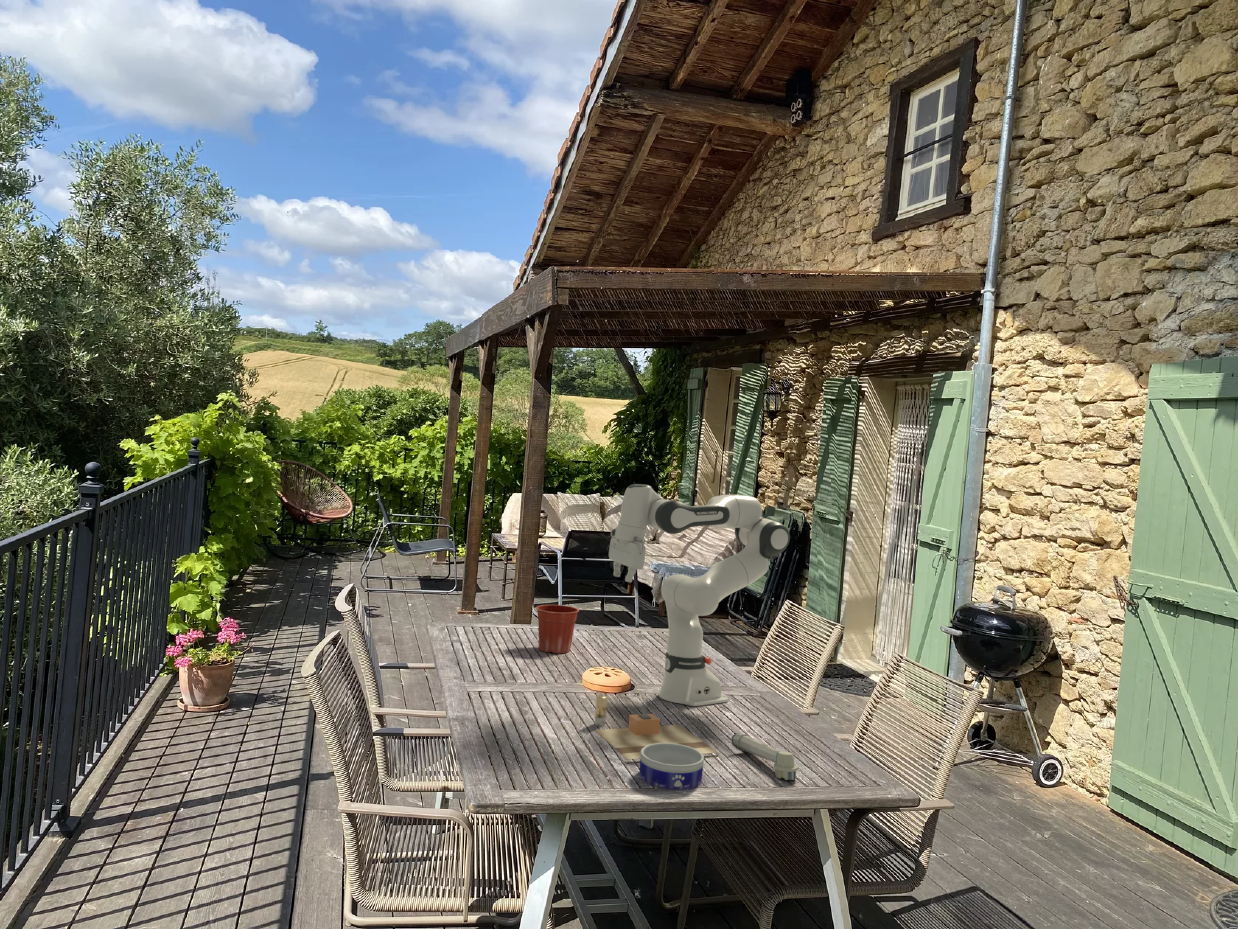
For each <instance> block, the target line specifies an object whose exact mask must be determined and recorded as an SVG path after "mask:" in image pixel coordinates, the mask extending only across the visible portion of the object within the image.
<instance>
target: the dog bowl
mask: <svg viewBox="0 0 1238 929" xmlns="http://www.w3.org/2000/svg"><path fill="white" fill-rule="evenodd" d="M704 756H705V755H704V754H702V753H701V752H699V751H698V750H696V749H694V748H692V747H689V746H685V745H681V744H674V743H655V744H650V745H647V746H645V747H643V748H642V750H641V754H640V759H639V761H640V763H639V777H640V779H641V780H642V781H643V782H644V783H646V784H648V785H650V786H652V787H655V788H659V789H661V790H662V789H663V790H670V791H687V789H688V790H692V789H695V788H698V787H699V786H700V785H701V783H702V780H703V772H704V762H705V761H704V760H705V758H704ZM698 785H699V786H698ZM691 788H692V789H691Z"/></svg>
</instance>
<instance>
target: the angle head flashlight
mask: <svg viewBox="0 0 1238 929" xmlns="http://www.w3.org/2000/svg"><path fill="white" fill-rule="evenodd" d="M731 744H732V746H734V747H735V748H737V749H739V751H741V752H745V753H746V752H747V753H749V754H751V755H754V756H756V757H758V758H759V757H760V758H762V759H765V760H767V761H769V762H772V763H773V768H774V773H775V774H774V776H775V778H777V779H784V780H785V781H793V780H796V779H797V771H798V769H799V768H798V766H797V765H796V764H795V757H794V754H793V753H792V752H789V751H782V750H779V749H776V748H775V747H773V746H770V745H768V744H767V743H764V742H762V741H760V740H757V739H756V738H754V737H752V736H750V734H749V733H742V732H736V733H734V734H733V736H732V737H731Z"/></svg>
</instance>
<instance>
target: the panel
mask: <svg viewBox="0 0 1238 929" xmlns="http://www.w3.org/2000/svg"><path fill="white" fill-rule="evenodd" d="M595 732H596V733H597V734H598V735H600V736H601V738H603V739H604V740H605V741H606V742H607V743H608V744H610V746H612V747H613V748H614V749H615V750H616V751H617V752H619V753H620V754H621V755H622V756H623V758H625V759H626V760H627V761H626V762H624V763H625V764H626V765H632V764H633V765H634V764H640V754H641V750H642V748H643V747H645V746H647V745H650V744H655V743H674V744H681V745H685V746H689V747H692V748H694V749H696V750H698V751H699V752H701V753H702V754H703V756H704V759H708V758H709V759H710V757H711V758H718V757H719V755H718V753H719V752H718V751H717V750H716V749H714V748H713V747H711V746H710V745H709V744H707V743H706V742H704V741H703V740H702V739H700V738H699V737H697V736H696V735H695V734H693V733H691V731H689V730H688V729H686V728H685V727H684V726H682V725H680V724H675V725H674V724H672V725H671V724H669V725H660V727H659V734H650V735H635V734H633V733H632V732H631V731H630V730H629V729H628V727H625V728H624V727H623V728H606V729H595ZM704 754H712V755H704ZM628 760H637V761H628Z"/></svg>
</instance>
